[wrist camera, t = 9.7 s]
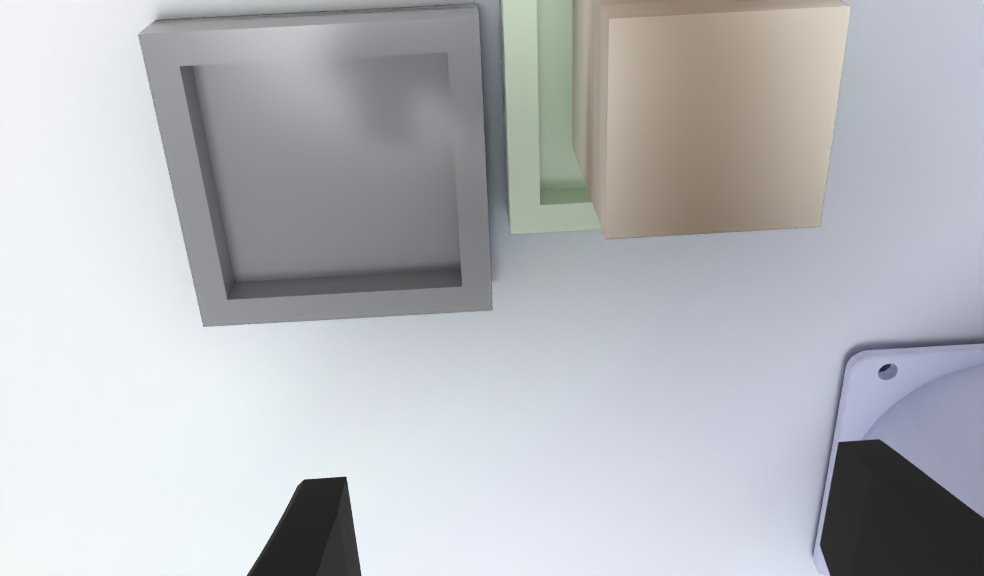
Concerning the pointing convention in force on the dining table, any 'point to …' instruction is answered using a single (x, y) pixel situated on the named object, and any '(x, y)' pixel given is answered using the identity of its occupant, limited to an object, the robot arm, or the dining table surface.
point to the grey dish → (326, 161)
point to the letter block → (706, 112)
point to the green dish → (541, 120)
